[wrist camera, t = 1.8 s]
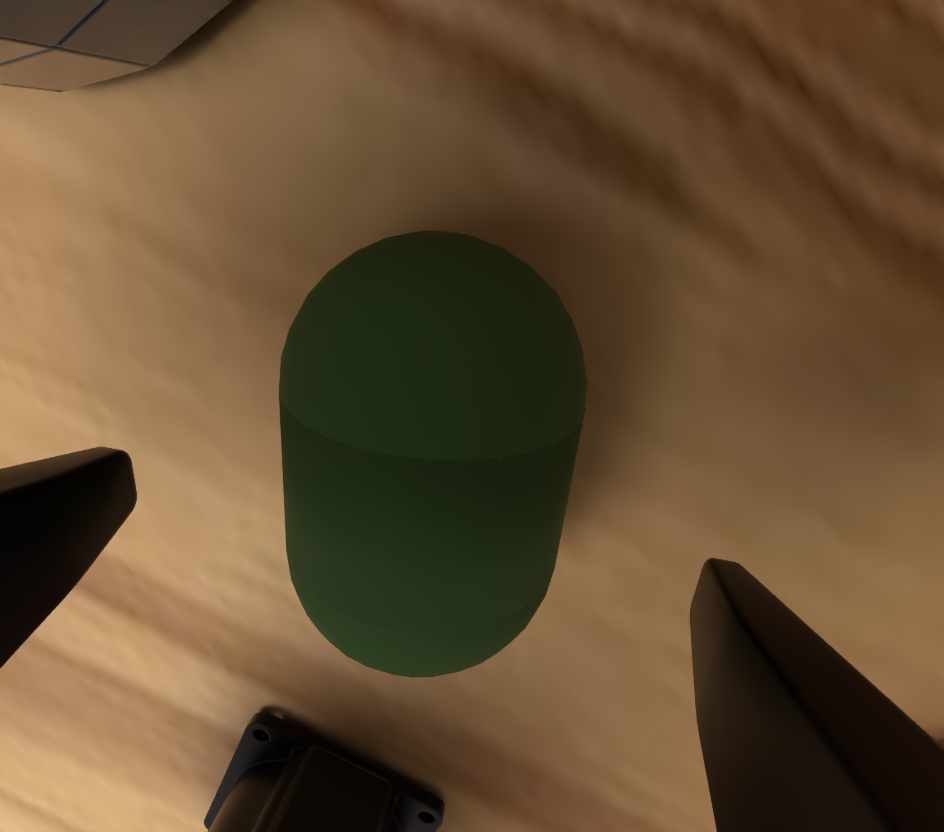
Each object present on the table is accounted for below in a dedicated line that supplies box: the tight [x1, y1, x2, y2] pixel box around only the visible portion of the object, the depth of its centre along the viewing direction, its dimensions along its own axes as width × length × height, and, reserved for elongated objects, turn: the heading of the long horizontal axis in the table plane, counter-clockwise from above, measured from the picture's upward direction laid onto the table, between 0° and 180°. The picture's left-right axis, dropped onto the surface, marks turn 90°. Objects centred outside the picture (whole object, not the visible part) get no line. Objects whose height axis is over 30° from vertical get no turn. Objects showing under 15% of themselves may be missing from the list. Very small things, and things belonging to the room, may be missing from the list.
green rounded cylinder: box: [279, 231, 587, 677], centre depth 11 cm, size 8×5×5 cm, turn 174°
